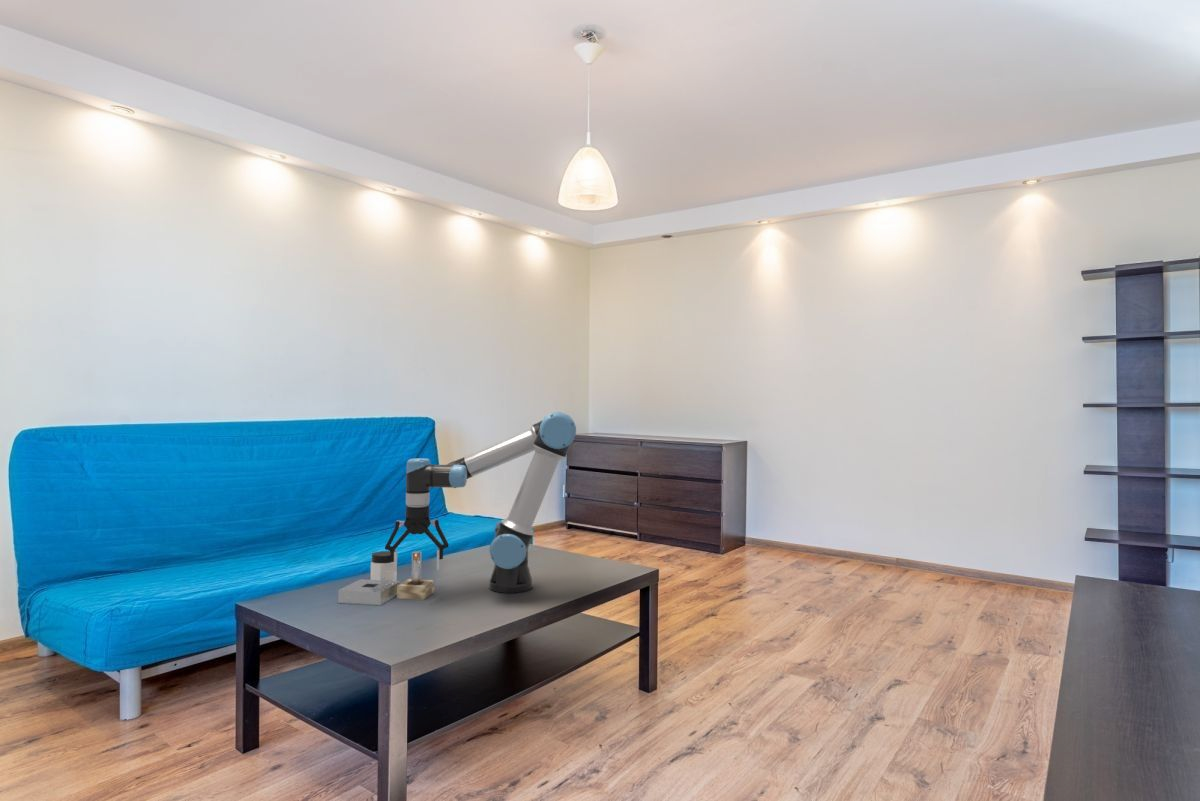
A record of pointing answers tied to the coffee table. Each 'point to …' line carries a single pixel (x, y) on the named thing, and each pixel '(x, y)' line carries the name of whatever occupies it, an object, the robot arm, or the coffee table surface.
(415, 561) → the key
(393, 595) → the block
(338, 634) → the coffee table surface
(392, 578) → the jar
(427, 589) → the holder
